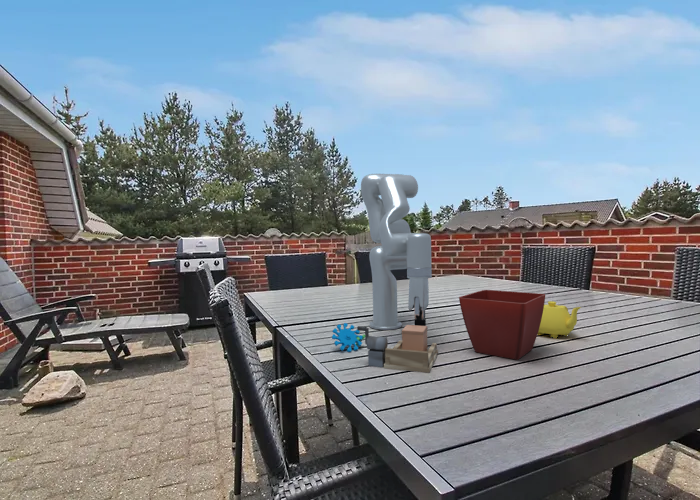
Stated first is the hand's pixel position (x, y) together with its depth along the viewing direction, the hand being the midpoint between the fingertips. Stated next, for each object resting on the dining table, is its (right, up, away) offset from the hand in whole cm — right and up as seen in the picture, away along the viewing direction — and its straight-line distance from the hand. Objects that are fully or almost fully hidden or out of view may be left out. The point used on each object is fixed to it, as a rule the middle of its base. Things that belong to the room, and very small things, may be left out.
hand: (420, 331), depth 118 cm
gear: (-22, -6, +1) cm, 23 cm away
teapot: (+48, -4, +12) cm, 50 cm away
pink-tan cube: (-3, -4, -8) cm, 9 cm away
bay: (-8, -6, -10) cm, 14 cm away
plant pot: (+24, -5, -5) cm, 25 cm away
